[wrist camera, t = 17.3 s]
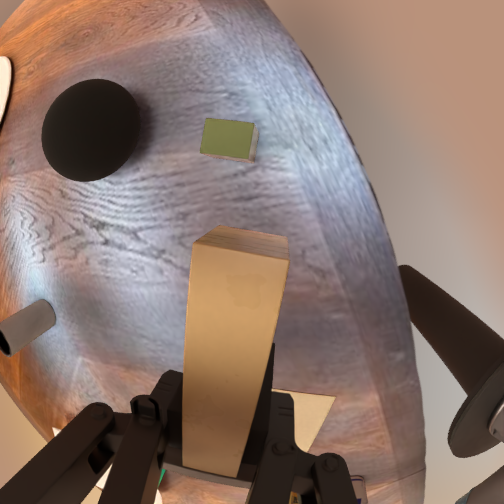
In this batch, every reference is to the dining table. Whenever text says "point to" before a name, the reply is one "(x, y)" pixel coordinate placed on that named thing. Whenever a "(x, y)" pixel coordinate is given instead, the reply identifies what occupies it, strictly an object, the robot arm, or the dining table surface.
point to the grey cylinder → (25, 326)
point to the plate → (4, 83)
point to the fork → (227, 349)
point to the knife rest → (230, 140)
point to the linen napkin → (308, 415)
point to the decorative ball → (90, 130)
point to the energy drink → (359, 489)
